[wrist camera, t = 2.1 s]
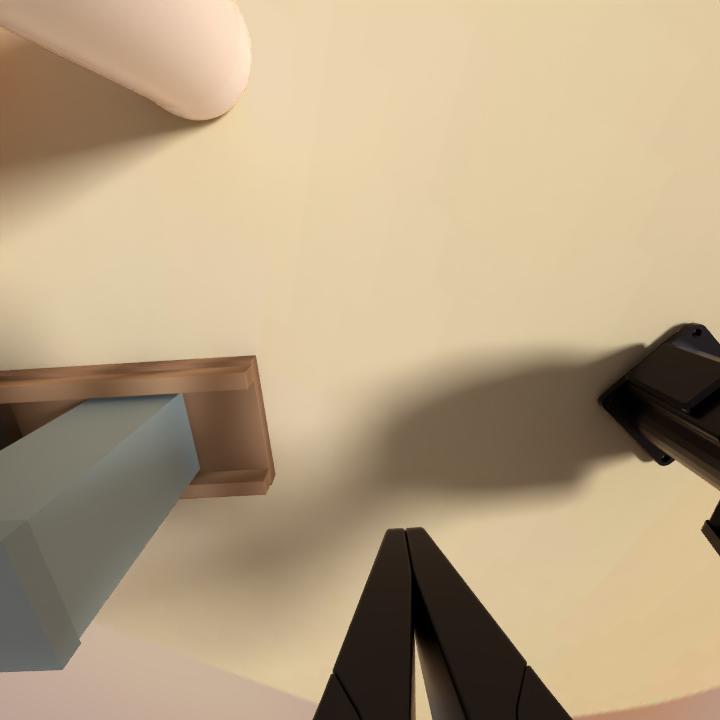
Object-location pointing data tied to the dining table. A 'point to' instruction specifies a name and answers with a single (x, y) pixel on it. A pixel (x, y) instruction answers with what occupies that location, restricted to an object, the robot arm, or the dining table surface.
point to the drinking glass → (147, 46)
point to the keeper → (83, 516)
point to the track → (190, 377)
